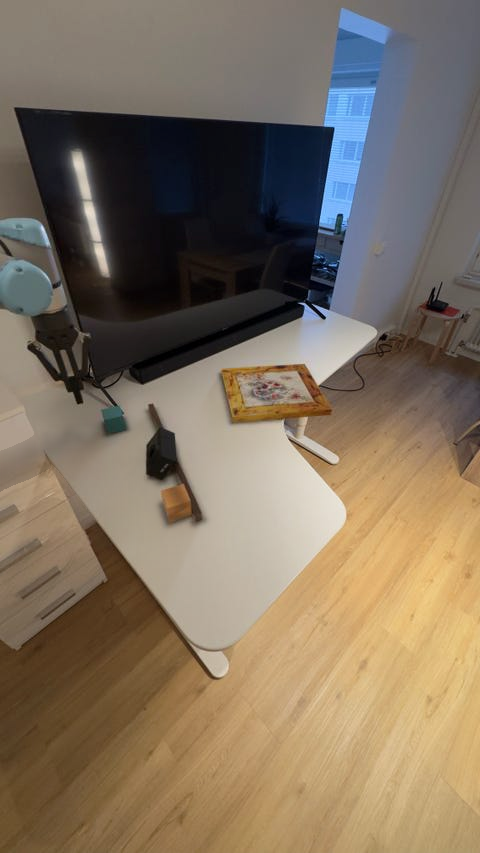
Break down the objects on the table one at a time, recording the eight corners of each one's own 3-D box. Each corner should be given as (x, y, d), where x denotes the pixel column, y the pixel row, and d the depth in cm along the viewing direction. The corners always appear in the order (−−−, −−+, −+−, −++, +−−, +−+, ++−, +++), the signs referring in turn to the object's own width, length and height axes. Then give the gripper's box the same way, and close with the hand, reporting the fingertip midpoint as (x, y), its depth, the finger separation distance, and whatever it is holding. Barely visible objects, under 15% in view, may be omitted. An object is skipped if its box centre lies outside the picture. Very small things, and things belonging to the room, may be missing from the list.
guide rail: (195, 522, 73) (194, 515, 71) (149, 411, 102) (147, 404, 100) (202, 519, 74) (201, 512, 72) (154, 410, 102) (153, 403, 101)
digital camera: (141, 442, 86) (155, 424, 84) (160, 450, 89) (175, 432, 86) (140, 473, 79) (156, 453, 76) (161, 480, 82) (177, 461, 79)
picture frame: (332, 409, 102) (232, 417, 97) (330, 415, 103) (232, 422, 99) (304, 363, 122) (221, 368, 118) (303, 369, 123) (221, 373, 119)
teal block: (107, 434, 93) (103, 420, 90) (105, 423, 97) (101, 409, 94) (126, 429, 95) (123, 415, 92) (123, 419, 98) (119, 405, 95)
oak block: (169, 522, 73) (167, 508, 69) (163, 505, 76) (160, 490, 73) (192, 514, 74) (190, 500, 71) (184, 498, 78) (183, 483, 75)
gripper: (80, 297, 74) (105, 387, 90) (12, 304, 70) (50, 398, 85) (83, 309, 69) (109, 403, 84) (11, 318, 65) (51, 415, 80)
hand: (79, 400), depth 85 cm, fingers closed
